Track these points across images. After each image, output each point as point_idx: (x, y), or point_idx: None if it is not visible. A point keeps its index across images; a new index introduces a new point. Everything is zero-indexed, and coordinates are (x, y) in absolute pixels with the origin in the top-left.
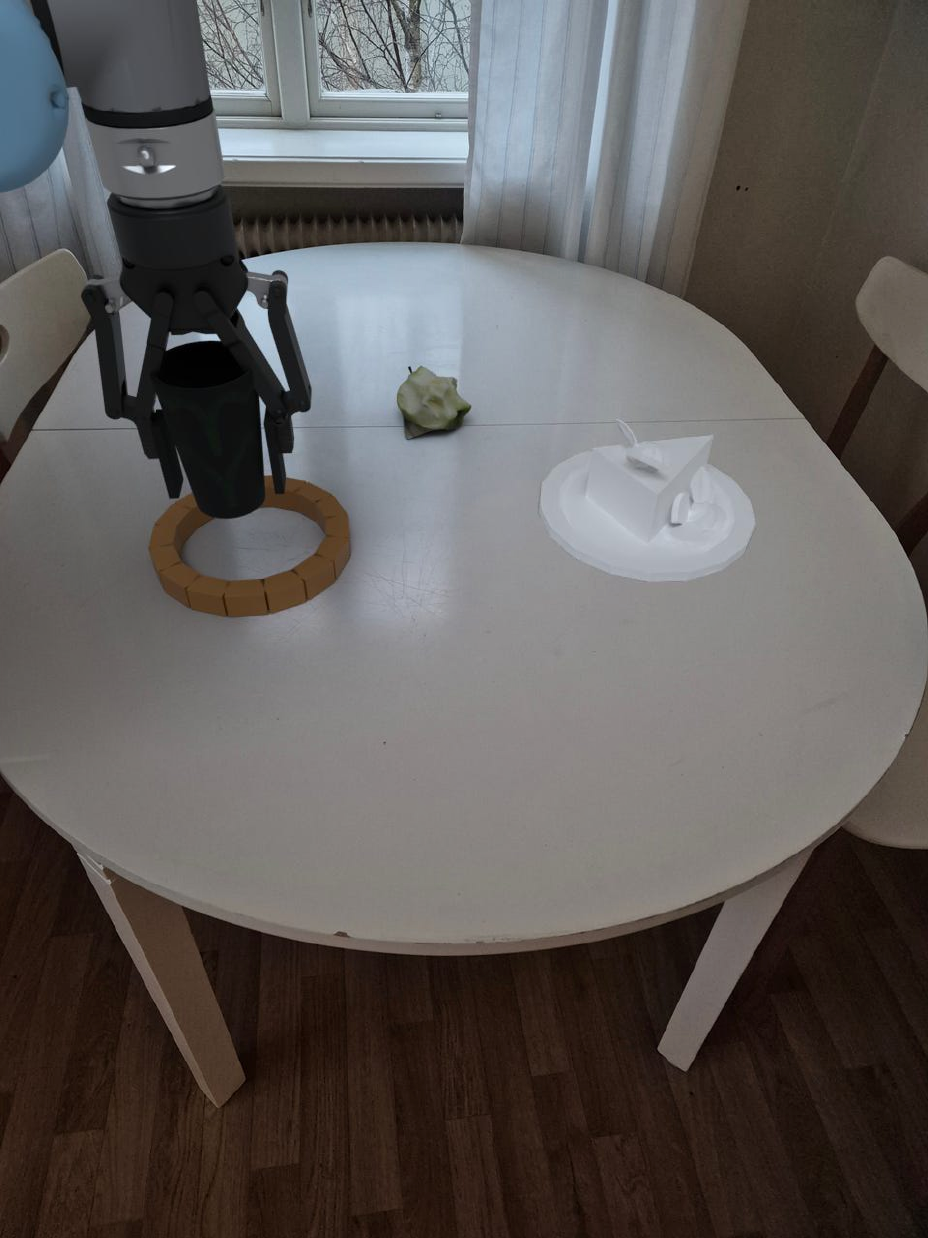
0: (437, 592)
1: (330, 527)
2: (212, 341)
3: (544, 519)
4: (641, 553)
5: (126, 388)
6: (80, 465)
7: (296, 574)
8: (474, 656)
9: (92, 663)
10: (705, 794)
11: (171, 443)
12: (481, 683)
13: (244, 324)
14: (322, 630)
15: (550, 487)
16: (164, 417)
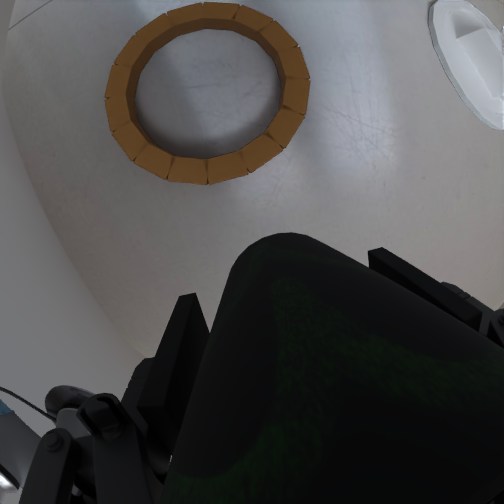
0: (386, 131)
1: (287, 65)
2: (489, 498)
3: (442, 57)
4: (491, 105)
5: (69, 473)
6: (33, 45)
7: (273, 139)
8: (416, 204)
9: (124, 257)
10: (490, 287)
11: (190, 369)
12: (420, 231)
13: None
14: (302, 187)
15: (439, 26)
16: (180, 427)
